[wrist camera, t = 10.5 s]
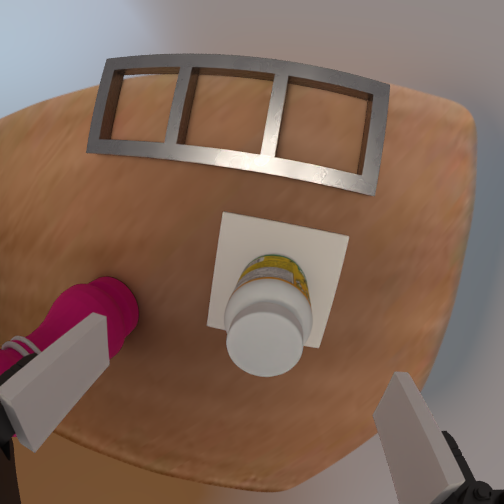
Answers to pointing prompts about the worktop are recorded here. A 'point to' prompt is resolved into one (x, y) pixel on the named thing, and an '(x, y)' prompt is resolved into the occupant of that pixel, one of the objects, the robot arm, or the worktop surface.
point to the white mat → (281, 242)
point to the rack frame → (267, 161)
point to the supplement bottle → (268, 316)
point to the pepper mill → (79, 319)
